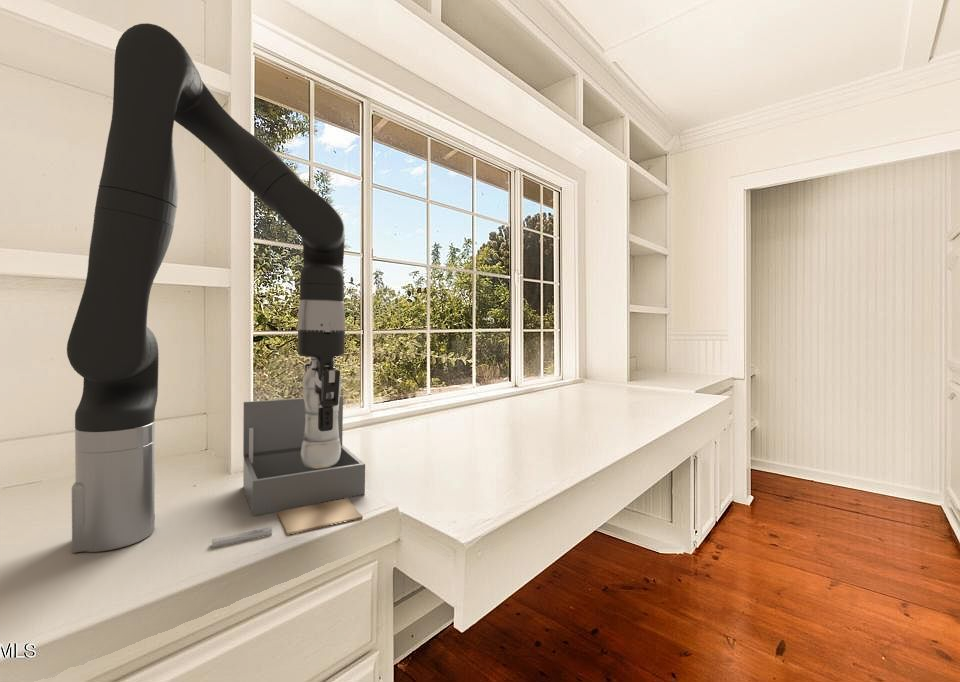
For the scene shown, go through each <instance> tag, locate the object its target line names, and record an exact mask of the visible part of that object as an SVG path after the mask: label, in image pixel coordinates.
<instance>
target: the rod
mask: <svg viewBox="0 0 960 682" xmlns="http://www.w3.org/2000/svg"><path fill="white" fill-rule="evenodd" d="M268 535H270V536H272V535H273V529H272V526H269V527H262V528H258V529H254V530H253V529H252V530H249V531H245V532H241V533H235V534H231V535H226V536H221V537H217V538H212V539H211V548H212V549H216V548H220V547H221V548H222V547H225V546H229V545H228V544H230V545H233V544H232V543H234V544H238V543H237V542H239V543H242V542H247V541H252V540H256V539H259V538H258V537H261V538H264V537H263V536H265V537H269V536H268ZM255 538H256V539H255ZM251 539H252V540H251ZM224 545H225V546H224Z"/></svg>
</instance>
